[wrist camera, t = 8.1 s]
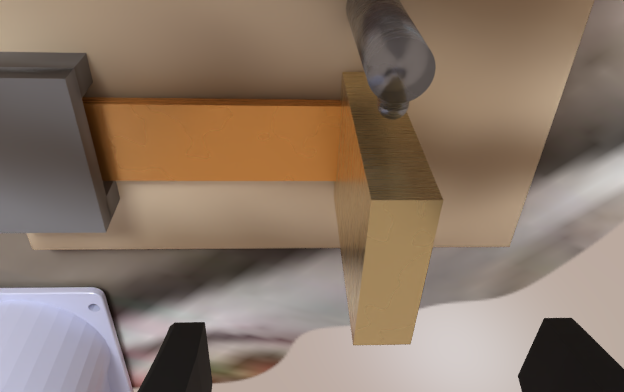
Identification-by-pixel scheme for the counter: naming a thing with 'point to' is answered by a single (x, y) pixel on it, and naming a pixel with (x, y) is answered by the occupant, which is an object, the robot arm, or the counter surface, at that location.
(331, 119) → the tan wooden block
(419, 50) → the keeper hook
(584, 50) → the counter surface
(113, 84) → the strap board
